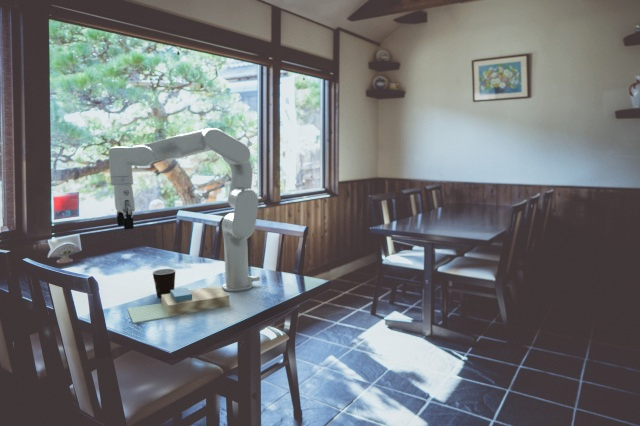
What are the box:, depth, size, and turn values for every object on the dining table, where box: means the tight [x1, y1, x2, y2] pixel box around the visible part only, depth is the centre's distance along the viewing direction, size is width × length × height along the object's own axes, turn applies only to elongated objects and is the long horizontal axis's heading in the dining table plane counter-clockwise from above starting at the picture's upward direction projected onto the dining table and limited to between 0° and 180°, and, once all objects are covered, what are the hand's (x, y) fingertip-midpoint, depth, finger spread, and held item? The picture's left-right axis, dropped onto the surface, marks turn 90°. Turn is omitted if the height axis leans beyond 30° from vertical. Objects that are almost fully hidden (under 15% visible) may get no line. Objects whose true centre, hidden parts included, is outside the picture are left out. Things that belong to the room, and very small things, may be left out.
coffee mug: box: [152, 268, 176, 299], centre depth 195 cm, size 12×9×10 cm
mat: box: [127, 302, 171, 324], centre depth 175 cm, size 12×16×1 cm
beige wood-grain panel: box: [160, 285, 230, 317], centre depth 182 cm, size 22×14×4 cm, turn 118°
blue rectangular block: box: [170, 287, 192, 302], centre depth 180 cm, size 6×9×2 cm, turn 27°
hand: (125, 227), depth 180 cm, fingers open, 9 cm apart
